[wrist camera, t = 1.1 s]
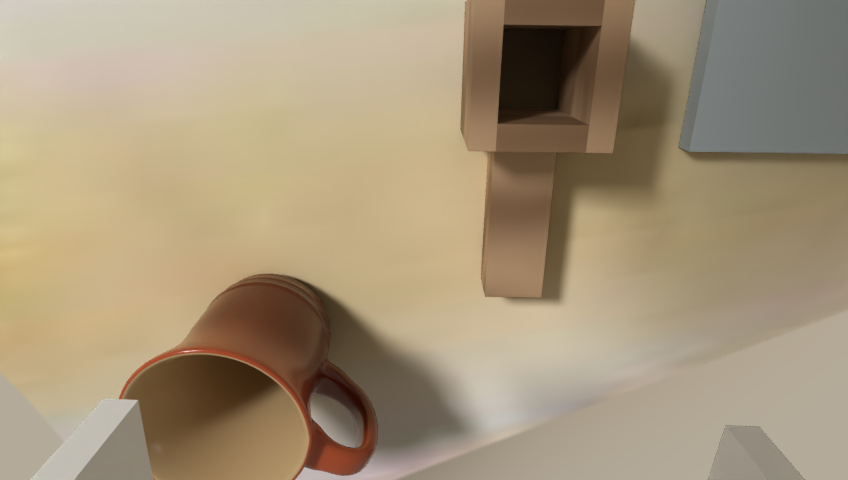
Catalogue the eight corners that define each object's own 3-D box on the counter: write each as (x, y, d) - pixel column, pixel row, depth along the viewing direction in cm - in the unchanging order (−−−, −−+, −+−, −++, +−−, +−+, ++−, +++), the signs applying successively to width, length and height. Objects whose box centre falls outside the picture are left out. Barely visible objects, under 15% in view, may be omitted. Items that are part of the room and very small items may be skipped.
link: (558, 279, 32) (587, 329, 26) (455, 277, 32) (460, 328, 26) (591, 4, 26) (636, -7, 20) (465, 2, 26) (475, -9, 20)
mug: (190, 345, 34) (95, 466, 24) (233, 232, 31) (145, 318, 21) (358, 412, 35) (332, 549, 26) (414, 311, 33) (408, 424, 23)
